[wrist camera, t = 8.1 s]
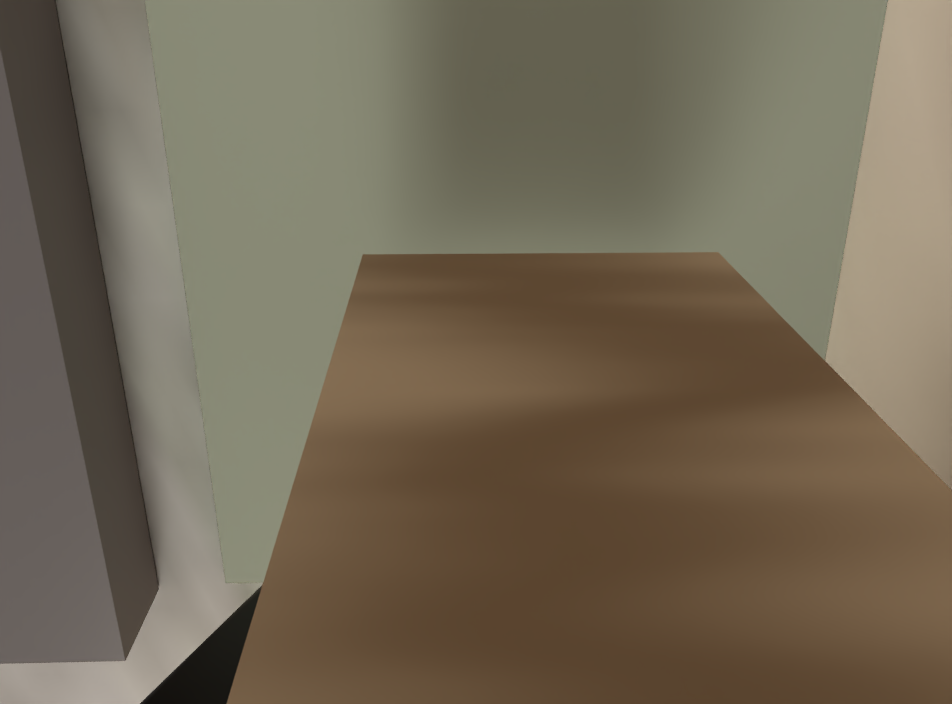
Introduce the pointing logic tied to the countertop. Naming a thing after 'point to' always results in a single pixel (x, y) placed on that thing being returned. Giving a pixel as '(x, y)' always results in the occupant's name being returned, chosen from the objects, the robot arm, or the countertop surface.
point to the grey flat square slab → (59, 382)
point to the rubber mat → (480, 171)
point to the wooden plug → (596, 502)
